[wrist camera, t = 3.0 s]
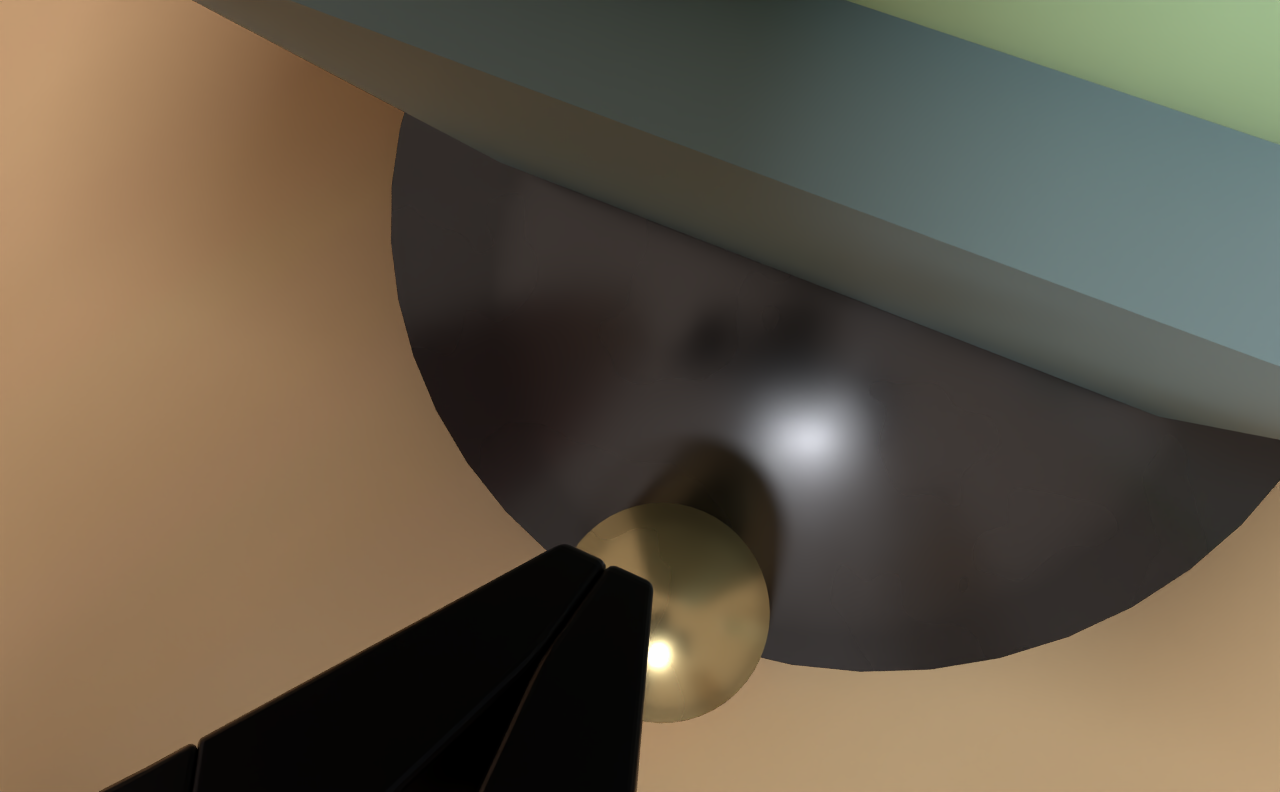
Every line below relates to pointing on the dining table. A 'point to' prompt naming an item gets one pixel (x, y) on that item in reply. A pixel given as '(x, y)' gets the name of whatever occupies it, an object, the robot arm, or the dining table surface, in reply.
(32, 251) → the dining table surface
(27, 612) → the dining table surface
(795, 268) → the grey upright slab
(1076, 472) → the base
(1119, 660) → the dining table surface
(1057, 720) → the dining table surface
